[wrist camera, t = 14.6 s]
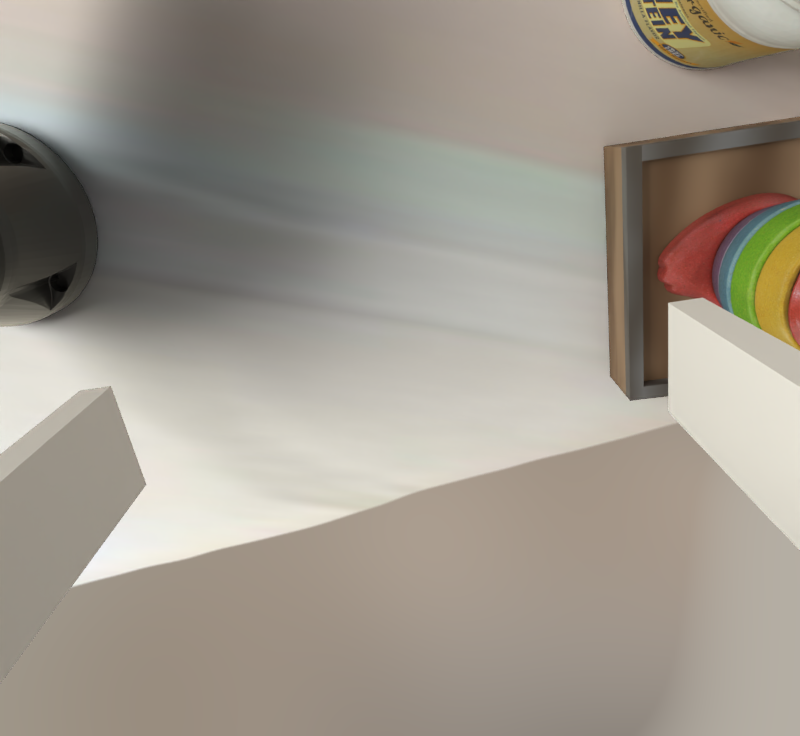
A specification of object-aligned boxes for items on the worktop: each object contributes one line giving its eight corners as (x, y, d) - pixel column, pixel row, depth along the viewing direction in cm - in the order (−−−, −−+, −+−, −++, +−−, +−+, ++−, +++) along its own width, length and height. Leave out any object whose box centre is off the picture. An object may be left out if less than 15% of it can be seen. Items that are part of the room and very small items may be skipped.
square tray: (610, 376, 50) (630, 400, 45) (603, 146, 44) (626, 147, 39) (837, 347, 49) (882, 370, 44) (864, 106, 43) (919, 102, 38)
